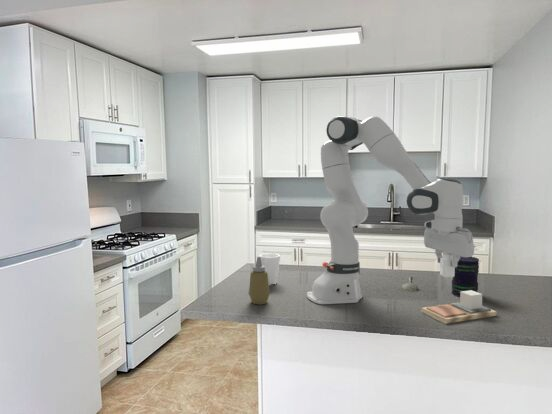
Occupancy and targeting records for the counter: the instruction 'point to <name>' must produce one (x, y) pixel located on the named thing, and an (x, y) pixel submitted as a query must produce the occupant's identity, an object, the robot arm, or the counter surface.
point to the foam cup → (271, 266)
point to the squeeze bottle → (259, 284)
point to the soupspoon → (409, 286)
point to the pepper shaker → (446, 265)
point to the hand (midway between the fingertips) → (447, 264)
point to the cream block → (471, 299)
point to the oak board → (457, 312)
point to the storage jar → (465, 275)
